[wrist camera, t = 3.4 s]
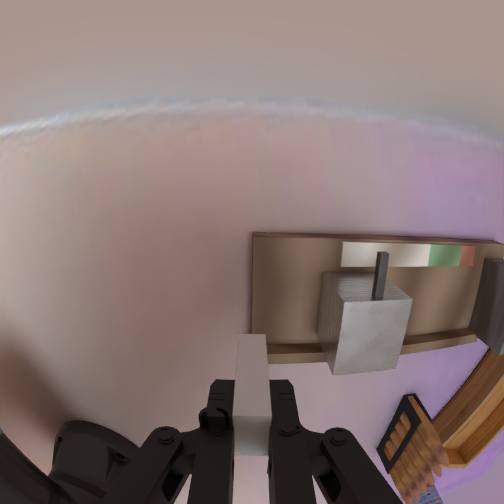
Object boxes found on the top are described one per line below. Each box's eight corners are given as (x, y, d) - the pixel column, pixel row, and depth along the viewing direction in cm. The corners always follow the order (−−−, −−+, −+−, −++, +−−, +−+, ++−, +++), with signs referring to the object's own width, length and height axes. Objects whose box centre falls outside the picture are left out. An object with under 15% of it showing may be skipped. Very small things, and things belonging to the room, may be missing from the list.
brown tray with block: (250, 348, 28) (252, 404, 20) (253, 232, 25) (255, 257, 17) (474, 329, 28) (513, 361, 20) (494, 240, 25) (543, 259, 18)
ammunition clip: (403, 394, 30) (446, 463, 18) (415, 393, 30) (459, 458, 18) (376, 449, 33) (402, 513, 21) (387, 447, 33) (414, 509, 21)
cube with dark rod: (316, 334, 25) (332, 375, 19) (325, 235, 23) (349, 254, 17) (369, 331, 25) (395, 368, 19) (383, 236, 23) (420, 255, 17)
